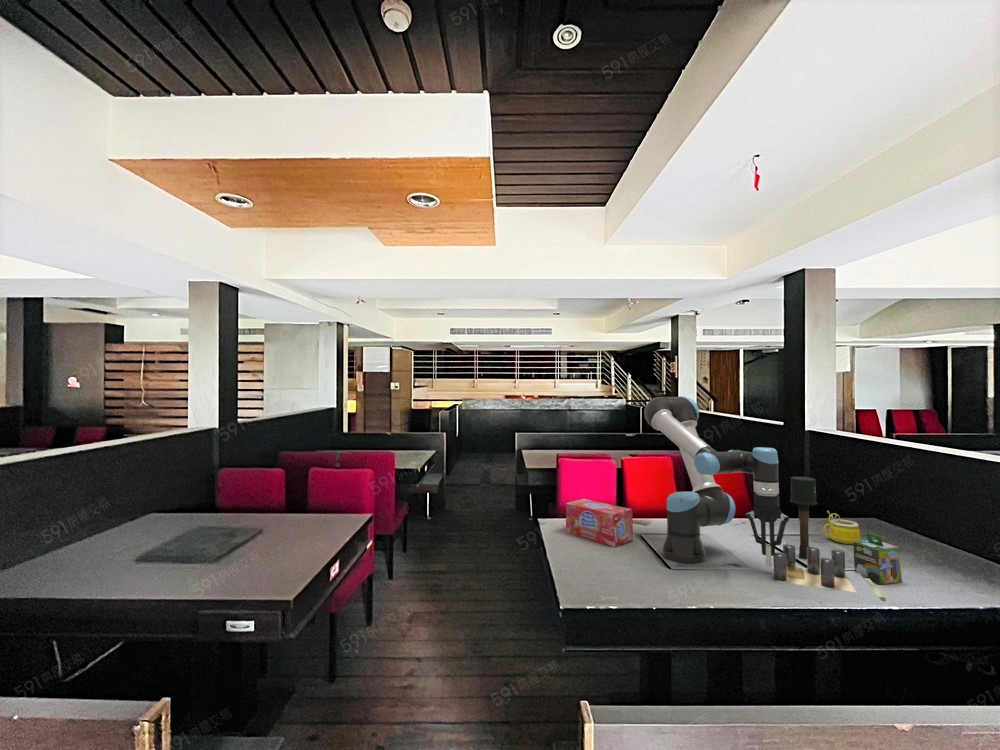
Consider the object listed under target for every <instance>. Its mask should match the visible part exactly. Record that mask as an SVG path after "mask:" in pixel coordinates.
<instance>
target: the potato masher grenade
mask: <svg viewBox="0 0 1000 750" xmlns="http://www.w3.org/2000/svg"><path fill="white" fill-rule="evenodd" d="M816 483H817V480H816V478H813V477H808V476H791V477H790V499H789V502H790V503H792V504H795V505H797V507H798V521H799V542H800V543H799V549H798V550H799V551H798V552H799V554H798V558H799V559H802V560H807V547H810V544H809V543H810V541H809V540H810V539H809V521H810V507H811V506H816V505H818V502H817V489H816V488H817V485H816Z"/></svg>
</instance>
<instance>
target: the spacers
mask: <svg viewBox="0 0 1000 750" xmlns="http://www.w3.org/2000/svg"><path fill="white" fill-rule="evenodd" d="M830 551H831V558H829V557H821V558H820V556H821V555H820V554H821V553H820V548H818V547H815V546H814V547H813V546H809V547H807V559H806V568H807V569H806V570H807V572H808V573H810V574H814V575H819V574H820V571H821V585H822V586H824V587H827V588H835V577H838V578H845V576H846V553H845V551H843V550H840V549H831V550H830ZM772 558H773V564H772V565H774V570H773V580H775V581H782V582H785V581H787V576H786V571H787V567H795V568H797V567H796V563H797V561H796V546H795V545H792V544H783V545H782V552H775V553H773V556H772ZM782 582H781V583H782ZM827 588H826V589H827Z"/></svg>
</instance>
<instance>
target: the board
mask: <svg viewBox="0 0 1000 750" xmlns="http://www.w3.org/2000/svg"><path fill="white" fill-rule="evenodd" d="M772 569H773V571H774V565H773V564H772ZM802 569H803V571H804V576H805V579H799V578H791V577H788V575H787V571H786V576H787V581H785V582H782V581H777V580H776V581H777V583H784V584H789V585H798V586H806V587H814V588H821V589H826V590H827V589H828V590H836V591H843V592H851V593H855V594H856V593H858V592H857V591H856V589H855V587H854V586H853V584H851V582H850V580H849V579H848V577H847V576H846V575H845V578H838V577H835V588H827V587H824V586H822V585H821V570H820V574H819V575H814V574H810V573H808V572H807V569H806V568H802ZM863 580H864V581H865V582H866V583H867V584H868V586H869V587H870V588H871V590H872V591H873V592H874V593H875V594H876V596H877V597H878V599H880V601H884V602H886V601H887V600H886V596H885V595H884V593H882V591H881V590H880V589H879V588H878V587H877V586H876V583H874V582H872V581H871V580H870V579H869V578H863Z"/></svg>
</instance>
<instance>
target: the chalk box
mask: <svg viewBox="0 0 1000 750" xmlns="http://www.w3.org/2000/svg"><path fill="white" fill-rule="evenodd" d="M866 536H867V537H866V538H867V539H864V540H863V539H862V540H861V541H856V542H853V544H852V547H853V562H854V566H853V567H854V572H855V573H858V574H859V575H860V576H861V577H862V578H863V579H864V578H869V579H870V580H871V581H872V582H873V583H874V584H875V585H879V586H881V585H883V586H884V585H888V584H889V585H890V584H897V583H902V582H903V581H902V566H901V565H902V564H901V552H900V551H901V548H900V546H897V545H894V544H891V543H888V542H884V541H882V537H881V535H878V534H874V533H871V532H866ZM873 538H874V539H873Z"/></svg>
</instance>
